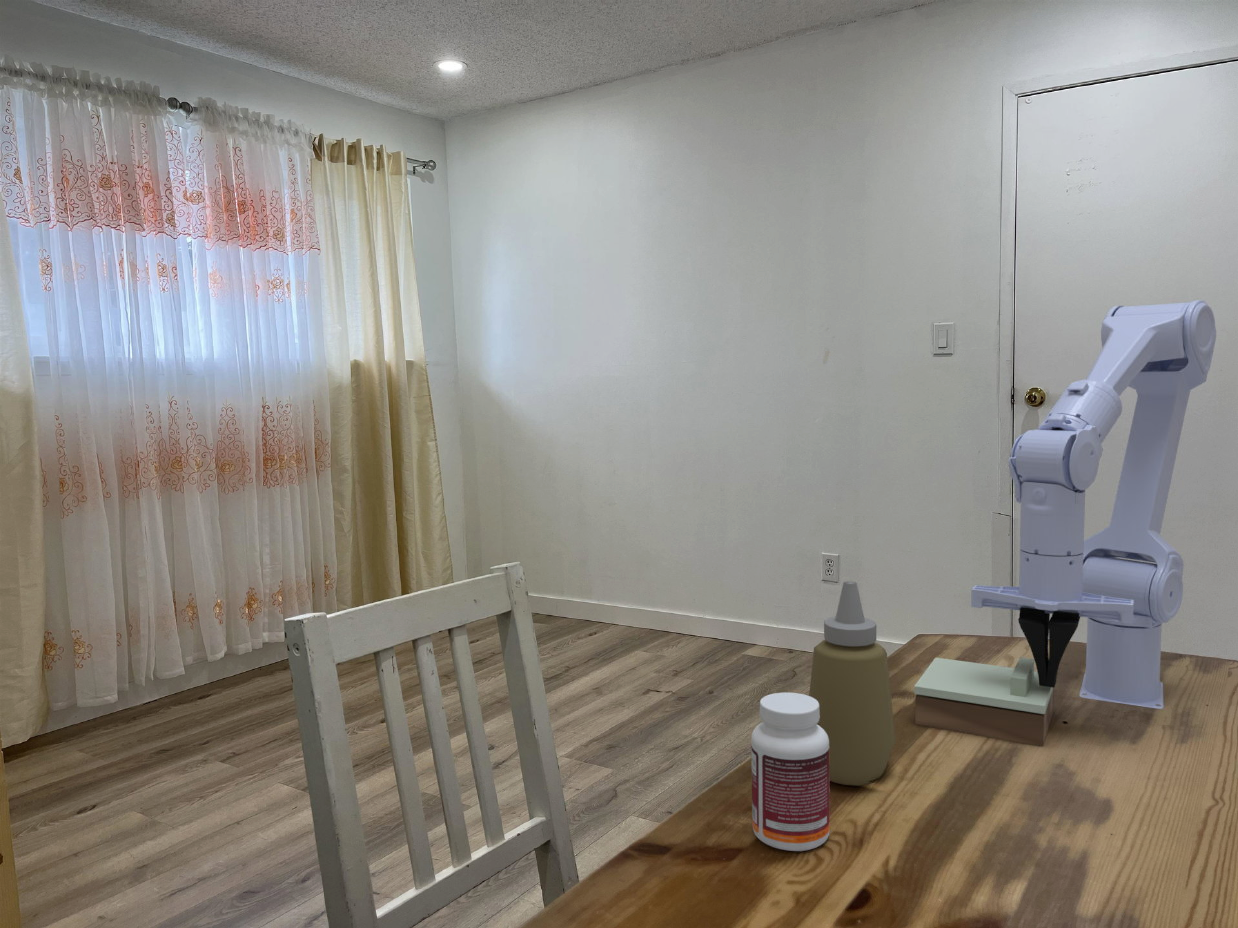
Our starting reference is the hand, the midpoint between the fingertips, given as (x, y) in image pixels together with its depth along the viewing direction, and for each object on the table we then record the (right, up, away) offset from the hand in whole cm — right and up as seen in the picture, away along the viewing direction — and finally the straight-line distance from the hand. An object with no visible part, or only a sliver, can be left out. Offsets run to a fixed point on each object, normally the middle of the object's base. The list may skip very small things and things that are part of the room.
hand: (1047, 683), depth 91 cm
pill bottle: (-29, -8, -18) cm, 35 cm away
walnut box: (-5, -5, +4) cm, 8 cm away
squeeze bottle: (-22, -7, -7) cm, 24 cm away
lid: (-5, -1, +3) cm, 6 cm away
